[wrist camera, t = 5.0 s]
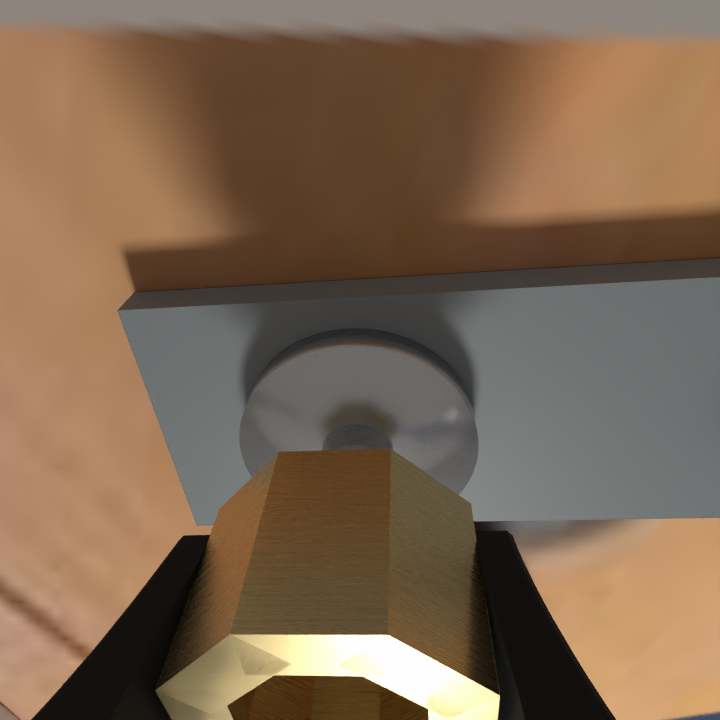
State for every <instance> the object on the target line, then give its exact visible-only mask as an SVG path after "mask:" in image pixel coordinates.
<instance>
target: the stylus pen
mask: <svg viewBox="0 0 720 720" xmlns="http://www.w3.org/2000/svg"><path fill="white" fill-rule="evenodd" d="M0 720H19V719H18V718H17V717H16V716H15V715H13V714H12V713H11V712H10V711H9V710H8V709H6V708H5V707H4V706H3V705H1V704H0Z"/></svg>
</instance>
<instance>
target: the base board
mask: <svg viewBox="0 0 720 720" xmlns="http://www.w3.org/2000/svg"><path fill="white" fill-rule="evenodd" d="M117 311H118V313H119V316H120V319H121V322H122V324H123V327H124V330H125V332H126V335H127V338H128V341H129V343H130V346H131V349H132V351H133V354H134V357H135V359H136V362H137V365H138V368H139V370H140V373H141V376H142V378H143V381H144V384H145V387H146V389H147V392H148V395H149V397H150V400H151V403H152V406H153V408H154V411H155V414H156V416H157V419H158V422H159V424H160V427H161V430H162V433H163V435H164V438H165V441H166V443H167V446H168V449H169V452H170V454H171V457H172V460H173V462H174V465H175V468H176V471H177V473H178V476H179V479H180V481H181V484H182V487H183V490H184V492H185V495H186V498H187V500H188V503H189V506H190V508H191V511H192V514H193V517H194V519H195V522H196V525H197V526H199V525H214V523H215V521H216V518H217V515H218V512H219V509H220V508H221V507H222V506H223V505H224V504H225V503H226V502H227V501H228V500H229V499H230V498H231V497H232V496H233V495H234V494H235V493H236V492H237V491H238V490H239V489H240V488H242V487H243V486H244V485H245V484H246V483H247V482H248V481H249V480H250V479H251V478H252V477H251V475H250V473H249V471H248V470H247V468H246V466H245V463H244V460H243V457H242V454H241V449H240V444H239V430H240V423H241V418H242V415H243V413H244V410H245V407H246V404H247V402H248V399H249V396H250V394H251V391H252V389H253V386H254V384H255V382H256V380H257V378H258V376H259V374H260V373H261V372H262V370H263V369H264V368H265V366H266V365H267V364H268V363H269V362H270V361H271V360H272V359H273V358H274V357H275V356H276V355H277V354H278V353H280V352H281V351H283V350H284V349H285V348H287V347H288V346H290V345H292V344H294V343H296V342H297V341H299V340H301V339H304V338H306V337H309V336H312V335H314V334H317V333H322V332H326V331H330V330H337V329H347V328H366V329H374V330H382V331H386V332H390V333H394V334H398V335H401V336H404V337H406V338H409V339H412V340H414V341H416V342H418V343H420V344H422V345H424V346H426V347H427V348H429V349H430V350H432V351H433V352H435V353H436V354H438V355H439V356H440V357H441V358H442V359H444V360H445V361H446V362H447V363H448V364H449V365H450V366H451V367H452V368H453V370H454V371H455V372H456V373H457V374H458V375H459V377H460V379H461V380H462V382H463V384H464V385H465V387H466V389H467V392H468V394H469V396H470V399H471V403H472V408H473V412H474V417H475V423H476V428H477V433H478V444H479V450H478V458H477V463H476V466H475V469H474V472H473V474H472V476H471V478H470V480H469V482H468V484H467V485H466V486H465V488H464V489H463V491H462V492H461V493H460V494H459V496H461V497H462V498H464V499H465V500H467V501H468V502H470V503H471V507H472V513H473V520H474V521H533V520H600V519H667V518H720V258H712V259H695V260H678V261H661V262H644V263H626V264H609V265H592V266H575V267H558V268H541V269H524V270H507V271H490V272H473V273H456V274H439V275H422V276H405V277H388V278H371V279H354V280H337V281H320V282H303V283H286V284H269V285H252V286H235V287H218V288H201V289H184V290H167V291H150V292H134V293H133V294H132V296H131V297H130V298H129V299H128V300H127V301H126V302H125V303H124V304H123V305H122V306H121V307H120V308H119V309H118V310H117Z"/></svg>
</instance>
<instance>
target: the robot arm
mask: <svg viewBox="0 0 720 720" xmlns="http://www.w3.org/2000/svg"><path fill="white" fill-rule="evenodd" d="M475 533H476V540H477V542H476V543H477V550H478V556H479V563H480V570H481V576H482V580H483V586H484V592H485V599H486V605H487V612H488V618H489V625H490V632H491V638H492V645H493V651H494V658H495V664H496V671H497V678H498V684H499V691H500V701H499V711H498V720H616V719H615V717H614V716H613V714H612V713H611V712H610V710H609V709H608V707H607V706H606V704H605V703H604V701H603V699H602V698H601V696H600V695H599V693H598V692H597V690H596V689H595V687H594V686H593V684H592V683H591V681H590V679H589V678H588V676H587V675H586V673H585V672H584V670H583V668H582V667H581V665H580V664H579V662H578V660H577V659H576V657H575V655H574V654H573V652H572V650H571V649H570V647H569V645H568V644H567V642H566V640H565V638H564V637H563V635H562V633H561V632H560V630H559V628H558V626H557V625H556V623H555V621H554V620H553V618H552V616H551V614H550V612H549V611H548V609H547V607H546V605H545V603H544V602H543V600H542V598H541V596H540V594H539V592H538V590H537V588H536V586H535V584H534V582H533V580H532V578H531V576H530V574H529V572H528V570H527V568H526V566H525V564H524V562H523V560H522V557H521V555H520V553H519V551H518V548H517V546H516V543H515V541H514V538H513V536H512V535H511V534H510V533H509V532H507V531H475ZM209 537H210V535H190V536H183V537H182V538H181V539H180V540H179V541H178V543H177V544H176V545H175V547H174V548H173V549H172V550H171V552H170V553H169V554H168V556H167V557H166V558H165V560H164V561H163V562H162V564H161V565H160V566H159V568H158V569H157V570H156V572H155V573H154V574H153V576H152V577H151V578H150V579H149V581H148V582H147V583H146V585H145V586H144V587H143V589H142V590H141V591H140V592H139V594H138V595H137V596H136V598H135V599H134V600H133V601H132V603H131V604H130V605H129V607H128V608H127V609H126V610H125V612H124V613H123V614H122V615H121V616H120V618H119V619H118V620H117V621H116V623H115V624H114V625H113V626H112V628H111V629H110V630H109V631H108V633H107V634H106V635H105V636H104V638H103V639H102V640H101V641H100V642H99V644H98V645H97V646H96V647H95V648H94V650H93V651H92V652H91V653H90V654H89V655H88V657H87V658H86V659H85V660H84V661H83V662H82V664H81V665H80V666H79V667H78V668H77V669H76V670H75V672H74V673H73V674H72V675H71V676H70V677H69V678H68V680H67V681H66V682H65V683H64V684H63V685H62V687H61V688H60V689H59V690H58V691H57V692H56V693H55V694H54V696H53V697H52V698H51V699H50V700H49V701H48V702H47V703H46V704H45V705H44V706H43V708H42V709H41V710H40V711H39V712H38V713H37V714H36V715H35V716H34V717H33V718H32V719H31V720H172V719H171V718H170V716H169V714H168V712H167V711H166V709H165V707H164V705H163V703H162V702H161V700H160V698H159V696H158V695H157V693H156V691H155V689H156V686H157V684H158V681H159V678H160V675H161V672H162V669H163V667H164V664H165V661H166V658H167V655H168V653H169V650H170V647H171V644H172V641H173V639H174V636H175V633H176V630H177V627H178V625H179V622H180V619H181V616H182V613H183V610H184V608H185V605H186V602H187V599H188V596H189V594H190V591H191V588H192V585H193V583H194V580H195V578H196V575H197V572H198V569H199V567H200V564H201V561H202V558H203V555H204V553H205V550H206V547H207V543H208V540H209Z"/></svg>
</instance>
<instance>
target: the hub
mask: <svg viewBox="0 0 720 720" xmlns="http://www.w3.org/2000/svg"><path fill="white" fill-rule="evenodd" d="M239 444H240V449H241V454H242V457H243V460H244V463H245V466H246V468H247V470H248V471H249V473H250V475H251V477H253V476H254V475H255V474H256V473H257V472H258V471H259V470H260V469H261V468H262V467H263V466H264V465H265V464H267V463H268V462H269V461H270V460H271V459H272V458H273V457H274V456H275V455H276V454H277V453H278V452H287V451H321V450H356V449H390V448H391V449H392V450H394V451H395V452H396V453H398V454H399V455H401V456H402V457H404V458H405V459H407V460H408V461H410V462H411V463H413V464H414V465H416V466H417V467H418V468H420V469H421V470H423V471H424V472H426V473H427V474H429V475H430V476H432V477H433V478H435V479H436V480H437V481H439V482H440V483H442V484H443V485H445V486H446V487H448V488H449V489H451V490H452V491H454V492H455V493H456V494H458V495H459V494H460V493H461V492H462V491H463V489H464V488H465V486H466V485H467V484H468V482H469V480H470V478H471V476H472V474H473V472H474V469H475V466H476V463H477V458H478V450H479V444H478V433H477V428H476V423H475V417H474V412H473V408H472V403H471V399H470V396H469V394H468V392H467V389H466V387H465V385H464V384H463V382H462V380H461V379H460V377H459V375H458V374H457V373H456V372H455V371H454V370H453V368H452V367H451V366H450V365H449V364H448V363H447V362H446V361H445V360H444V359H442V358H441V357H440V356H439V355H438V354H436V353H435V352H433V351H432V350H430V349H429V348H427V347H426V346H424V345H422V344H420V343H418V342H416V341H414V340H412V339H409V338H406V337H404V336H401V335H398V334H394V333H390V332H386V331H382V330H374V329H366V328H347V329H337V330H330V331H326V332H322V333H317V334H314V335H312V336H309V337H306V338H304V339H301V340H299V341H297V342H296V343H294V344H292V345H290V346H288V347H287V348H285V349H284V350H283V351H281V352H280V353H278V354H277V355H276V356H275V357H274V358H273V359H272V360H271V361H270V362H269V363H268V364H267V365H266V366H265V368H264V369H263V370H262V372H261V373H260V374H259V376H258V378H257V380H256V382H255V384H254V386H253V389H252V391H251V394H250V396H249V399H248V402H247V404H246V407H245V410H244V413H243V415H242V418H241V423H240V430H239Z"/></svg>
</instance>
